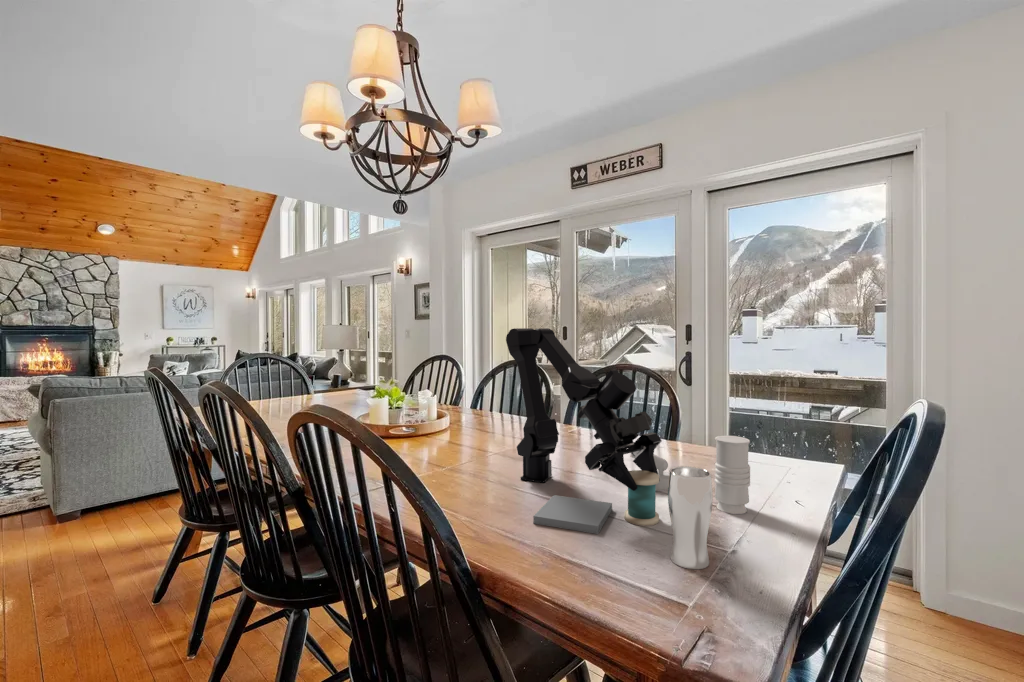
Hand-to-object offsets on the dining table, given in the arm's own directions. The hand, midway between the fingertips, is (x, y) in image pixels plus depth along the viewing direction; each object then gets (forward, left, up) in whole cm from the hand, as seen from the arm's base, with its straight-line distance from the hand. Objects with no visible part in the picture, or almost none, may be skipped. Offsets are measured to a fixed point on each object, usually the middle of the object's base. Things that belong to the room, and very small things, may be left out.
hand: (647, 486), depth 98 cm
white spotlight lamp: (-2, +24, -7) cm, 25 cm away
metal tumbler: (+9, -14, -7) cm, 18 cm away
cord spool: (-1, +1, -7) cm, 7 cm away
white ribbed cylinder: (+16, +14, -7) cm, 22 cm away
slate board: (-14, -3, -7) cm, 16 cm away
